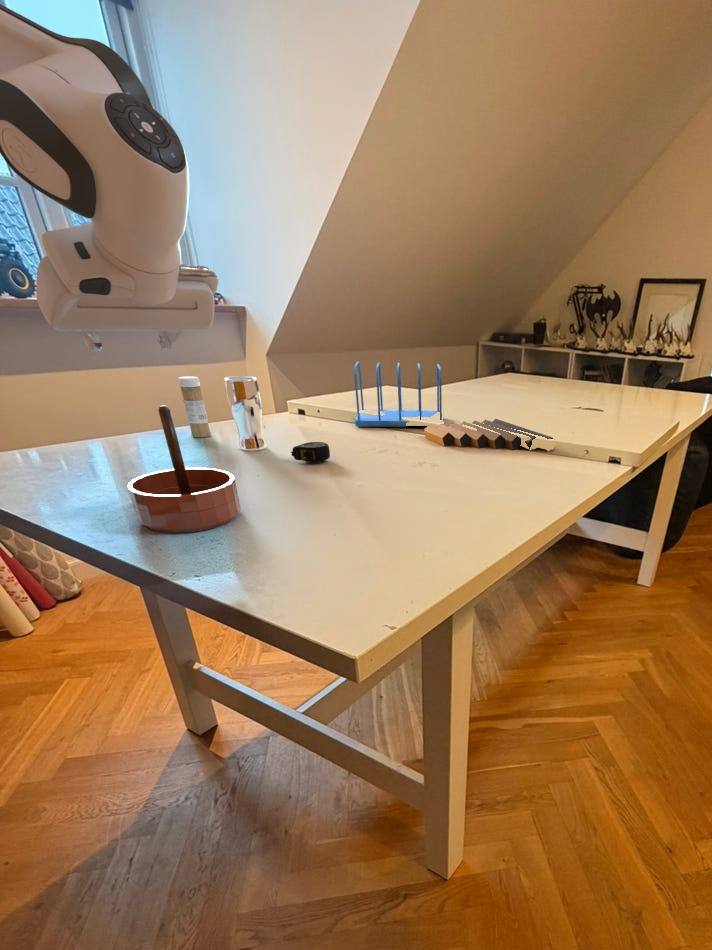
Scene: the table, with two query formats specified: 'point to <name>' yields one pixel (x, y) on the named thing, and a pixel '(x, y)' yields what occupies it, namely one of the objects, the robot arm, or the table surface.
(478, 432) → the pan flute
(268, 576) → the table surface
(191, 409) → the sprinkles bottle
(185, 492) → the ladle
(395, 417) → the file sorter
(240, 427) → the beer glass
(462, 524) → the table surface
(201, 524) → the bowl
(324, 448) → the tape measure
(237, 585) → the table surface
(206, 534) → the table surface
